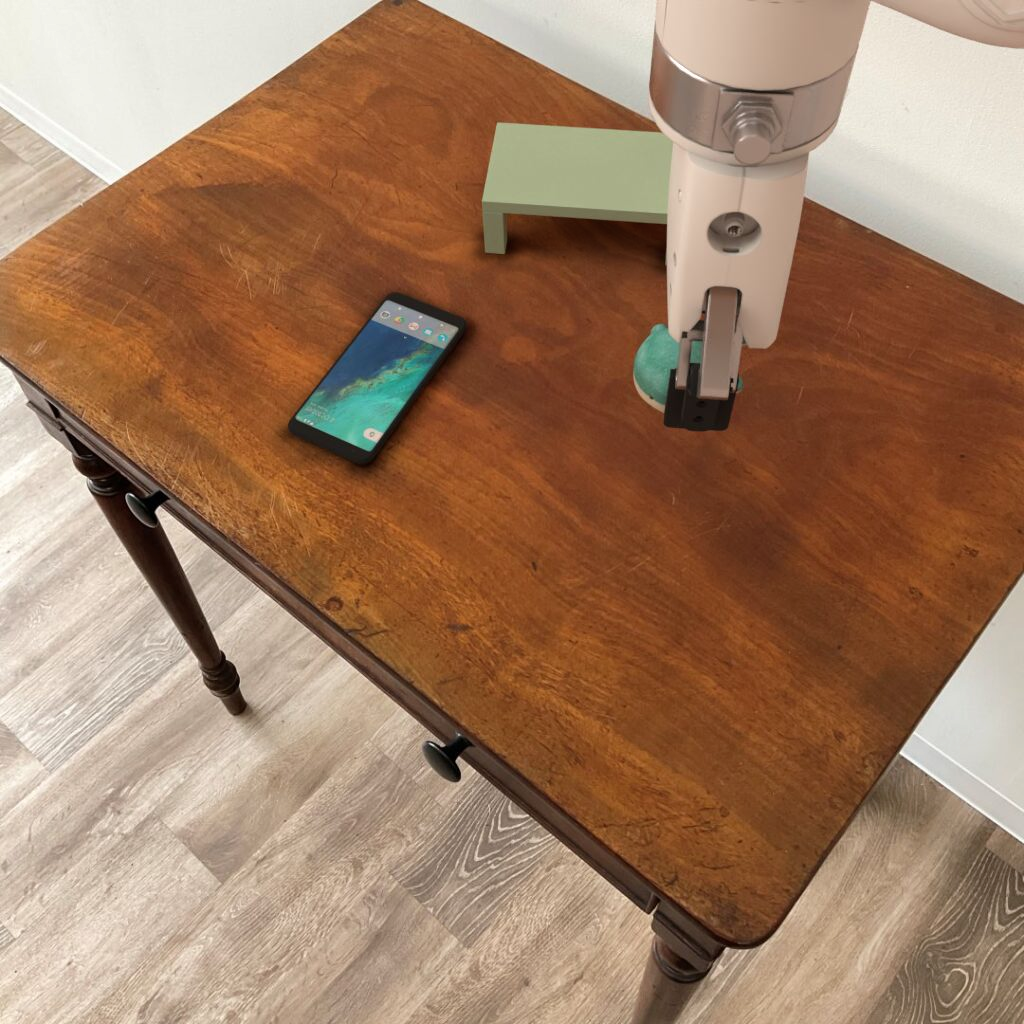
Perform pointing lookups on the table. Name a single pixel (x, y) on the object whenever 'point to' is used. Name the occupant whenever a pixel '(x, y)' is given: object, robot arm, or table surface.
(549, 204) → the miniature table
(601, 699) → the table surface
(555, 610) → the table surface
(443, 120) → the table surface
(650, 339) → the whale figurine
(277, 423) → the table surface
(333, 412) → the smartphone
